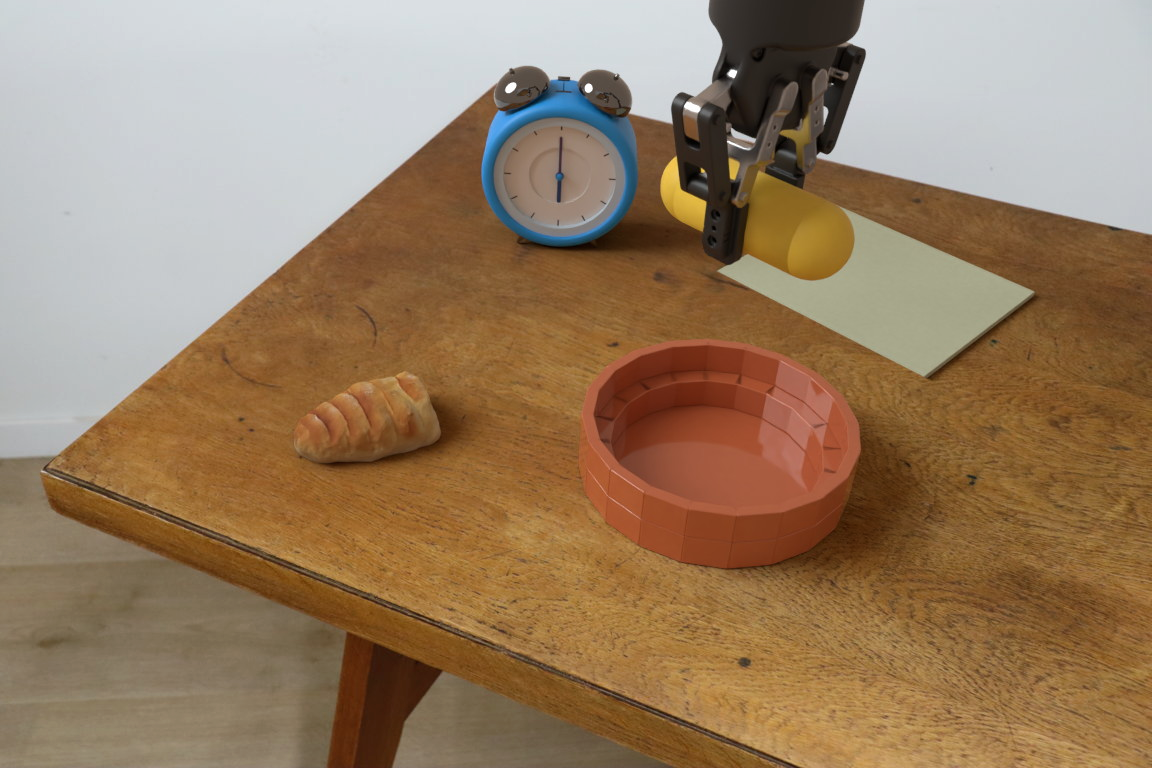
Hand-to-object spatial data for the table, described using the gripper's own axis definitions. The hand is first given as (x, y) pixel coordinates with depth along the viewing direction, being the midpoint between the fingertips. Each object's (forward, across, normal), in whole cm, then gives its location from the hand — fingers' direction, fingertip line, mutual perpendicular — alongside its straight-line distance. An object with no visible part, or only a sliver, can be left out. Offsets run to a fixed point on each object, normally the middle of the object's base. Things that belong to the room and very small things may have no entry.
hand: (749, 241), depth 63 cm
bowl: (+18, 0, 0) cm, 18 cm away
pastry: (+18, -14, +18) cm, 29 cm away
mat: (+18, +28, +6) cm, 34 cm away
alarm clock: (+18, +15, +30) cm, 38 cm away
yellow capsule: (0, 0, 0) cm, 0 cm away
